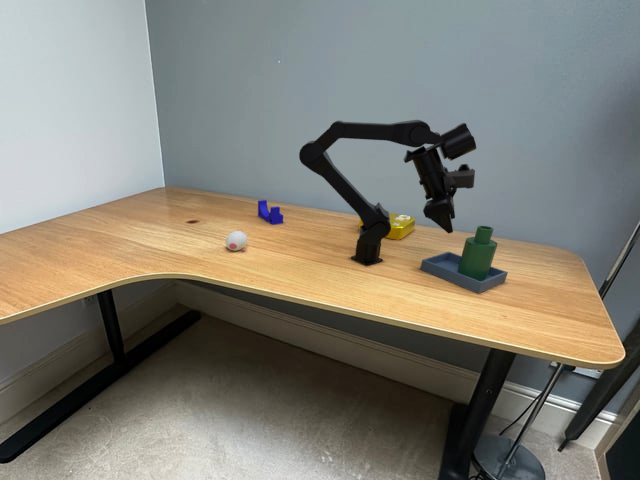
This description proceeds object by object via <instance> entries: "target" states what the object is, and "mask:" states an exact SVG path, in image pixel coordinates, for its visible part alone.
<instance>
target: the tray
mask: <svg viewBox="0 0 640 480" xmlns="http://www.w3.org/2000/svg"><path fill="white" fill-rule="evenodd" d="M461 256H462V255H460V254H457V253H454V252H451V251H446V252H441V253H440V254H437V255H434V256H429V257H426V258H424V259H422V260H421V263H420V268H419V270H420V271H422V272H426V273H428V274H430V275H432V276H435V277H437V278H440V279H443V280H445V281H447V282H448V283H449V282H450V283H452V284H453V285H457V286H459V287H462V288H464V289H466V290H469V291H471V292H474V293H476V294H481V293H483V292H485V291H488V290H490V289H493V288H494V287H497V286H499V285H501V284H504V283H505V282H506V280H507V277H508V273H509V272H508V271H505V270H502V269H500V268H497V267H494V266H491V267H490V270H489V273H488V276H487V279H486V280H484V281H481V282H480V281H478V280H475V279H473V278H470V277H467V276H465V275H462V274H460V273H457V270H458V267H459V263H460V260H461Z"/></svg>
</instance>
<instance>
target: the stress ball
mask: <svg viewBox="0 0 640 480" xmlns="http://www.w3.org/2000/svg"><path fill="white" fill-rule="evenodd" d="M247 243H248V236H247V235H246V233H244V231H240V230H235V231H232V232H230V233H229V234H228V235H227V237H226V238H225V245H226V246H225V247H226V248H227V249H229V251H230V250H231V251H240V250H242V253H243V252H245V250H244V249H243V248H245V246H246V245H247Z"/></svg>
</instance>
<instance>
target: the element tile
mask: <svg viewBox="0 0 640 480" xmlns="http://www.w3.org/2000/svg"><path fill="white" fill-rule="evenodd" d="M389 217H390V224H391V230H390V233H389V234H388V235H387V236H386V237H384V239H390V240H394V241H398V240H399V241H400V240H402V239H403V238H405V237H406V236H407V235H409V234H410V233H411V232H413V230H415V229H414V228H415V224H416V218H415V217H414V216H410V215H405V214H399V213H394V212H389ZM362 225H363V222H362V220H361V219H360V218H359V224H358V232H360V227H361V226H362Z"/></svg>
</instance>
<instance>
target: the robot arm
mask: <svg viewBox="0 0 640 480" xmlns="http://www.w3.org/2000/svg"><path fill="white" fill-rule="evenodd" d="M340 139H350V140H369V141H387V142H391V143H395V144H397V145H402V146H406V147H410V148H414V150H409V149H406V152H405V154H404V155H405V156H404V157H403V162H404V163H405V164H407V163H409V162H411V161H412V163H413V165H414V168H415V171H416V172H417V175H418V177H419V181H418V183H419V186H422V188H423V190H424V192H425V196H424V198H425V200H426V202H425V204H424V206H423V209H422V213H423V215H424V217H425V218H427V219H429V220H431V221H432V222H434V223H435V224H436V225H437V226H439V227H440V228H441V229H443V231H444V232H446V233H447V234H453V232H454V227H453V222H452V221H453V219H456V212H455V211H456V210H455V204H454V203H455V202H454V196H456V195H455V194H456V193H457V192H458V189H467V190H468V189H473V188H474V187H475V178H476V177H475V176H476V169H474V168H471V167H470V166H469V164H468V163H463V164H462V163H461V164H460V165H459V167H458V169H454V170H453V171H449V169H448V167H446V166H444V164H443V162H442V161H443V160H446V159H448V160H449V161H450V162H453V161H454V160H457V159H459V158H461V157H463V156H465V155H467V154H469V153H471V152H474V151H475V150H477V143H476V140H475V137H474V136H473V134H472V133H471V130H470V129H469V127H468V125H467V123H466V122H462V123H459V124H458V125H456V126H455V127H453V128H452V129H450V130H448V131H446V132H444V133H442V134H441V133H440V132H437V131H435V132H434V131H432V130H431V127H430V126H429V124H428V123H427V122H425V121H423V120H422V119H421V120H420V119H411V120H404V121H398V122H391V123H383V122H382V123H380V122H379V123H378V122H359V121H358V122H356V121H344V120H336V121H334V122H332V123H331V125H330V126H329V127H328V128H327V129H326V130H325V131H324V132H323V133H322V134H321V135H320V136H319V137H318V138H316V140H310V141H308V142H306V143H305V144H304V145H303V146H301V148H300V149H299V152H298V157H299V161H300V163H301V164H302V165H303V166H305V167H306V168H307V169H309V170H310V171H311V172H313V173H315V174H317V175H318V176H320V177H322V178H323V179H324V180H325V181H326V182H327V184H329V185H330V187H331V188H332V189H333V190H335V192H336V193H337V194H338V195H339V197H341V199H343V200H344V201H345V203H347V204H348V205H349V207H350V208H351V209H353V211H354V212H355V213H356V214H357V215H358V217H359V220H360V219H361V220H362V222H363V225H362V226H361V227H360V231H358V232H359V233H358V234H359V236H358V238H357V240H356V246H355V254H354V255H351V256H350V259H351V260H353V261H356V262H358V263H359V264H362V265H364V266H371V265H374V264H377V263H381V262H383V260H384V259H383V258H381V257H380V254H381V248H382V240H383V239H385V237H386V236H387V235H388V234H389V233H390V230H391V224H390V217H389V213H390V212H389V211H388V210H386V209H384V207H383V206H382V204H381V203H380V202H379V201H378V202H377V203H376V205H374V204H373V203H371V202H369V201H368V200H367V199H366V198H365V197H364V195H363V194H362V193H361V192H360V191H359V190H358V189H357V188H356V187H355V185H353V184H352V183H351V181H349V180H348V178H347V177H346V176H345V175H344V174H343V173H342V172H341V171H340V170H339V169H338V168H337V167H336V166H335V164H334V162H333V161H332V159H331V157H330V155H329V154H328V152H327V150H328V149H329V148H330V147H332V145H334V144H335V143H336V142H337V141H338V140H340ZM425 145H430V146H428V147H425ZM438 148H439V151H438ZM439 152H440V154H441V156H442V159H443V160H442V159H441V157H440V155H439Z"/></svg>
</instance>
